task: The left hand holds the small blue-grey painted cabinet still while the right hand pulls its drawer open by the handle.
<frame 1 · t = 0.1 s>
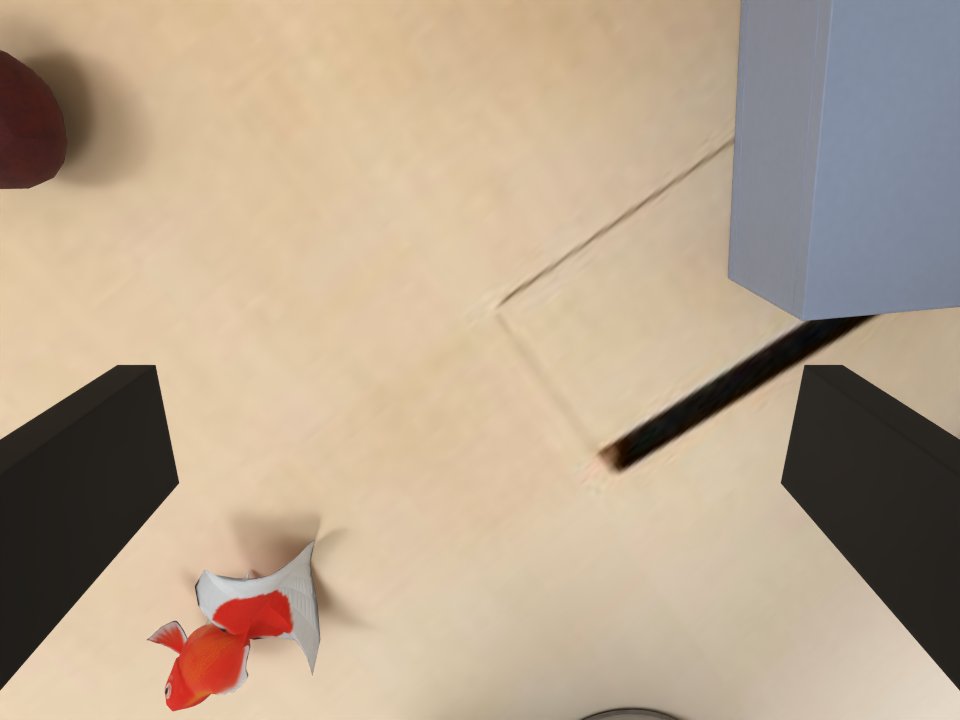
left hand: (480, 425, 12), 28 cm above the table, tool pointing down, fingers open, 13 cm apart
potato: (33, 121, 36), on the table
fish: (259, 584, 49), on the table
cabinet: (827, 108, 36), on the table
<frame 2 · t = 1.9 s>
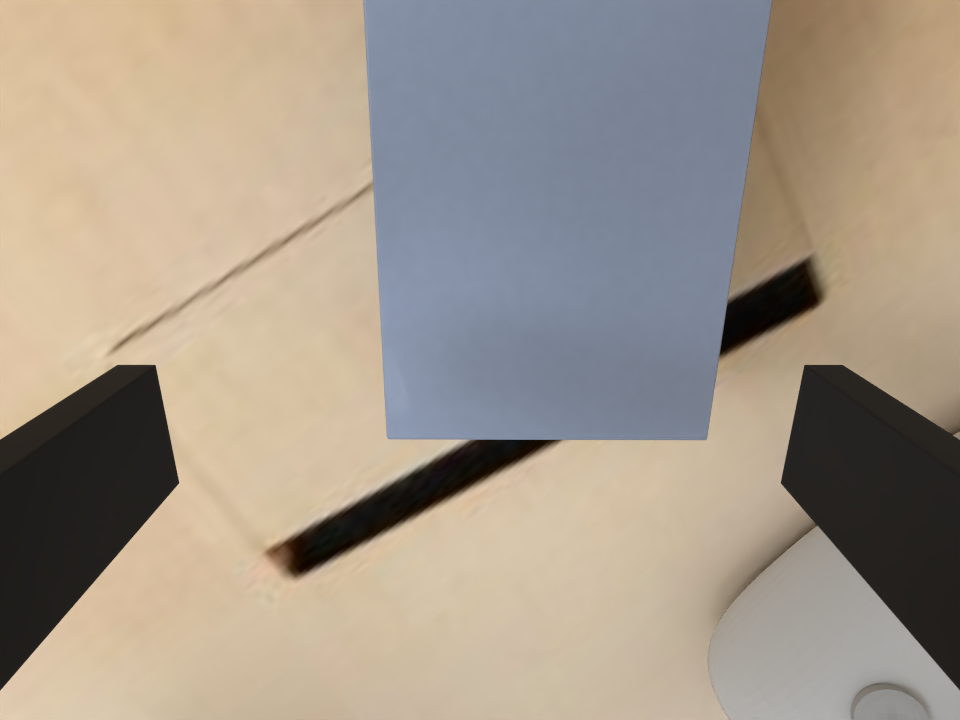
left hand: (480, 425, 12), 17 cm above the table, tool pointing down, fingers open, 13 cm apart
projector: (897, 558, 34), on the table
cabinet: (532, 133, 26), on the table
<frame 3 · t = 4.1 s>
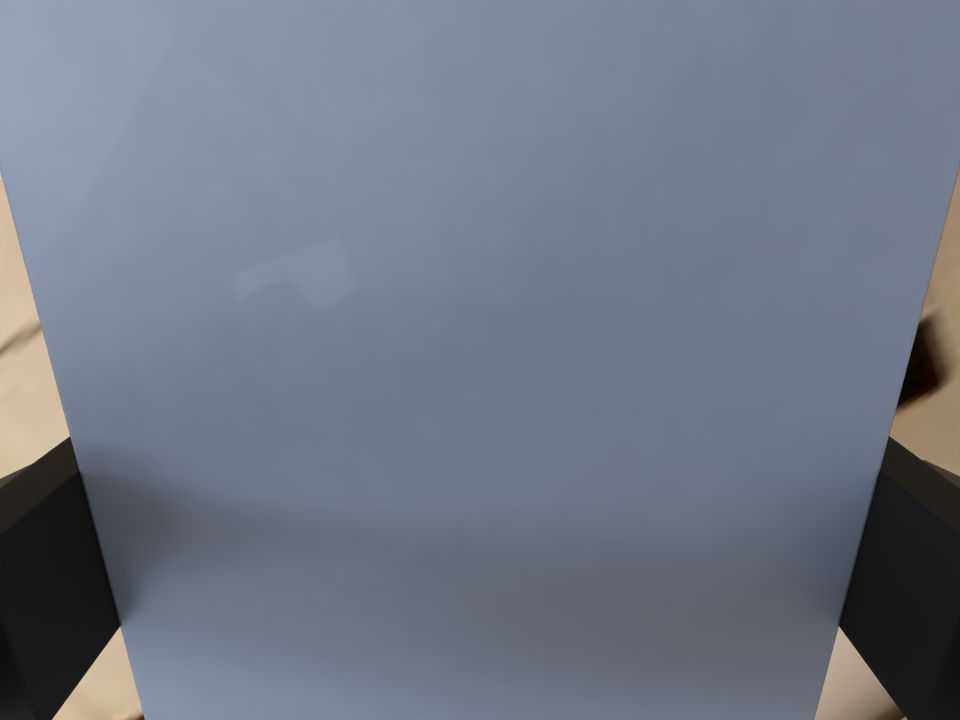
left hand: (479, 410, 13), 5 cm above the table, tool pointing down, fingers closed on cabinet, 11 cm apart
cabinet: (479, 118, 16), on the table, touching left hand
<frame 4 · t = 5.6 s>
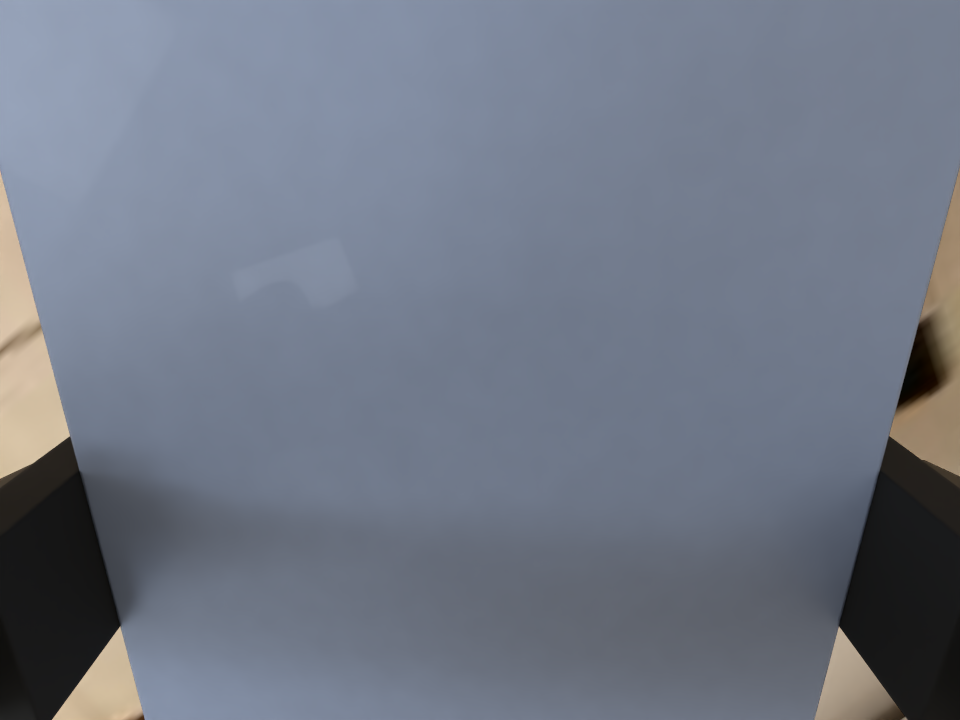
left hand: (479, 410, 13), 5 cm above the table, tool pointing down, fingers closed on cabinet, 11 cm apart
cabinet: (479, 118, 16), on the table, touching left hand
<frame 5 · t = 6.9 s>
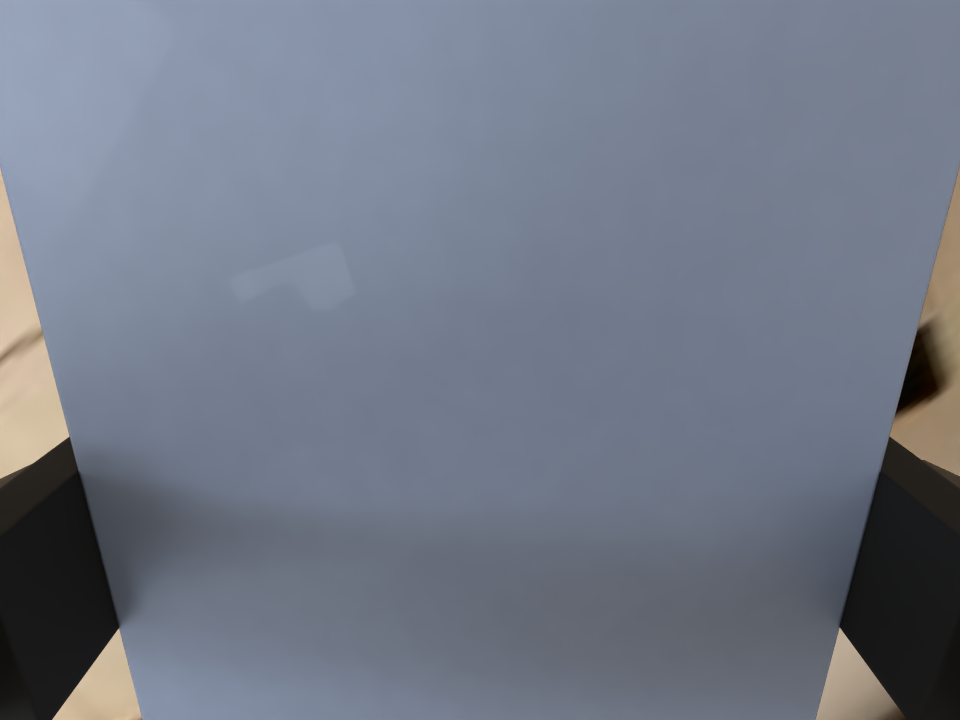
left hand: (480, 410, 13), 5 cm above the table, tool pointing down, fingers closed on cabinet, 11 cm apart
cabinet: (479, 119, 16), on the table, touching left hand
when the left hand's fingers open (5 cm above the table, at t = 8.6 s): cabinet stays where it is, on the table.
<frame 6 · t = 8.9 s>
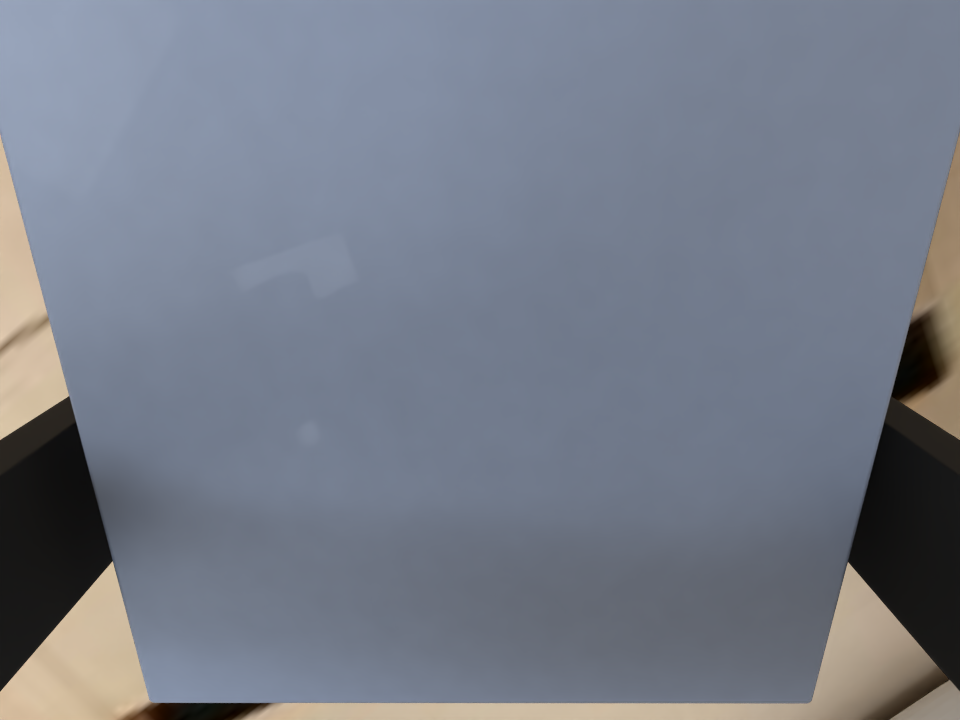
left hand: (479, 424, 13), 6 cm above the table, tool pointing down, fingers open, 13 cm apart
cabinet: (480, 88, 16), on the table
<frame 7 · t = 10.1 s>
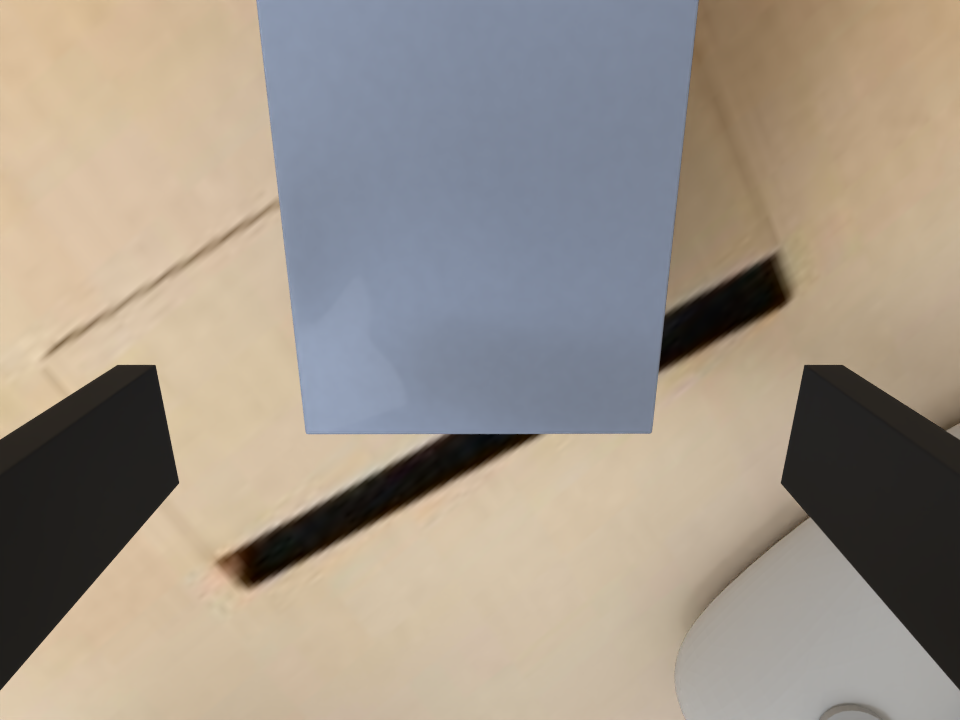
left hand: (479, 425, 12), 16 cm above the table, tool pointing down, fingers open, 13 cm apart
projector: (874, 567, 33), on the table
cabinet: (478, 108, 25), on the table
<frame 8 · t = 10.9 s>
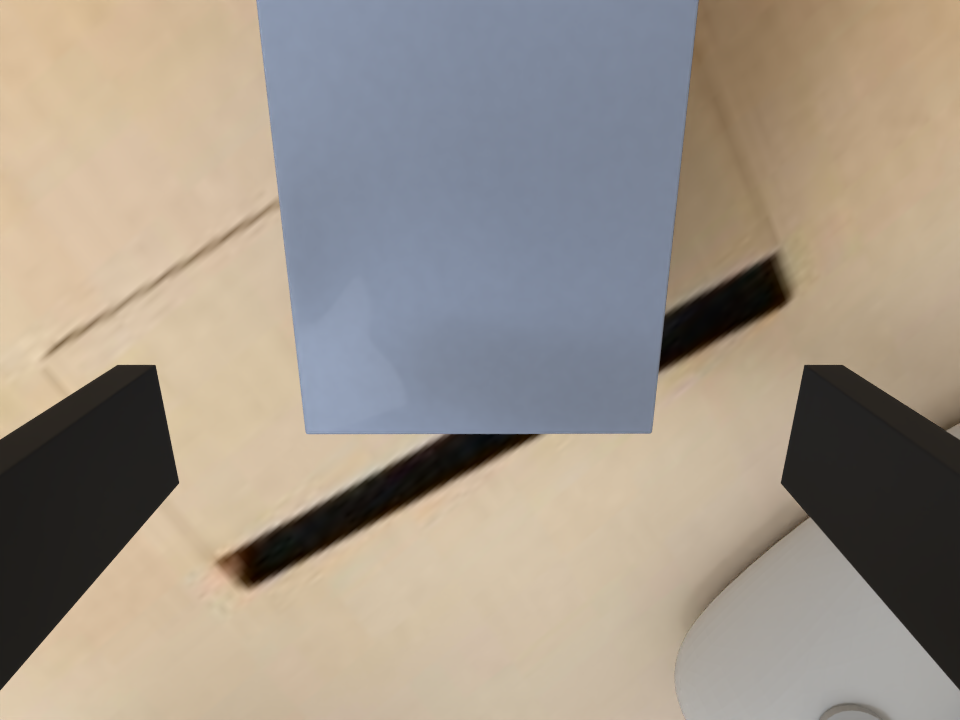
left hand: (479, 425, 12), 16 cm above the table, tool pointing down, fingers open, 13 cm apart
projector: (874, 567, 33), on the table
cabinet: (478, 108, 25), on the table
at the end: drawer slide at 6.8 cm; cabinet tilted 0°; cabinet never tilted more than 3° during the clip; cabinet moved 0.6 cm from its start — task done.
